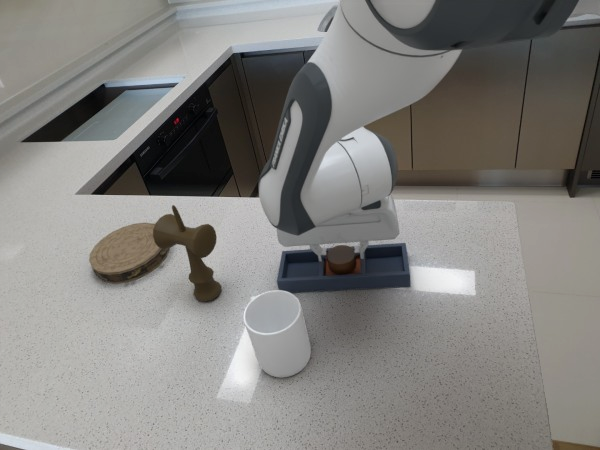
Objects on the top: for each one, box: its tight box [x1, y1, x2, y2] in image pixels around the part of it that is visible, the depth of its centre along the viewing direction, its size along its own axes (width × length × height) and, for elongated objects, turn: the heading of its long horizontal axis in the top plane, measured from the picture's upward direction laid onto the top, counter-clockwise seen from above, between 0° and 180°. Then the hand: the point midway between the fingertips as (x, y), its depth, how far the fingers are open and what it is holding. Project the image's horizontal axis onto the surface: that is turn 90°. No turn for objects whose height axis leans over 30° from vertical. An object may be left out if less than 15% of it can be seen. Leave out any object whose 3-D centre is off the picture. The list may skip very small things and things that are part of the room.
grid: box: [276, 242, 411, 294], centre depth 82 cm, size 8×23×3 cm, turn 85°
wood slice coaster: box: [88, 222, 170, 284], centre depth 97 cm, size 16×16×3 cm
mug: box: [242, 289, 312, 378], centre depth 69 cm, size 12×8×10 cm
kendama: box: [153, 204, 222, 302], centre depth 79 cm, size 6×10×20 cm, turn 61°
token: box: [327, 244, 357, 274], centre depth 81 cm, size 5×5×2 cm
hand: (341, 257), depth 81 cm, fingers closed on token, 5 cm apart
